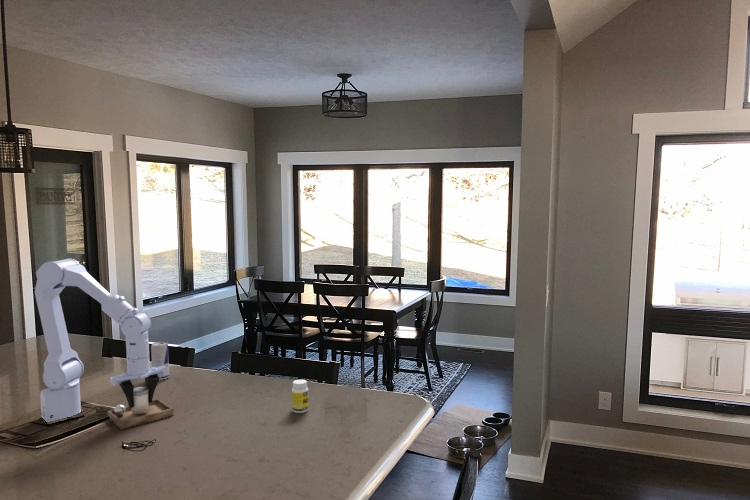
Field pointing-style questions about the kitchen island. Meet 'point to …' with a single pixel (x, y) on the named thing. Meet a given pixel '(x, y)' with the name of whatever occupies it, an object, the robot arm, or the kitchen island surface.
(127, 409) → the tray
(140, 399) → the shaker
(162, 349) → the energy drink
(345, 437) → the kitchen island surface
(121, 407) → the steel ball
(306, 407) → the supplement bottle
